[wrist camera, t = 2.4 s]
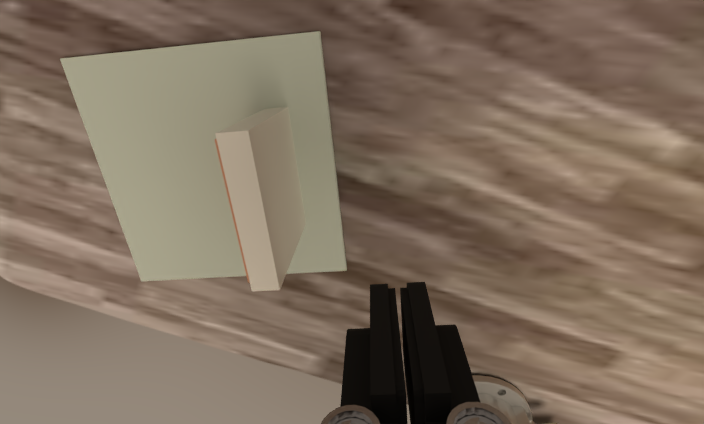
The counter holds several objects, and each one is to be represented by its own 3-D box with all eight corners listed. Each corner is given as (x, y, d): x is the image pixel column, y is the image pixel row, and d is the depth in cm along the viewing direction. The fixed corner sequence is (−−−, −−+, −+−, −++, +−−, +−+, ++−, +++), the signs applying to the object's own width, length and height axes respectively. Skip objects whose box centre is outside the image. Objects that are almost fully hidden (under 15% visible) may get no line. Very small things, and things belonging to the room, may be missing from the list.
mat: (320, 31, 27) (319, 31, 26) (346, 267, 35) (346, 270, 34) (66, 58, 29) (59, 58, 28) (144, 278, 36) (141, 281, 36)
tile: (288, 106, 29) (248, 130, 19) (305, 223, 32) (279, 290, 23) (261, 109, 29) (209, 133, 19) (282, 225, 32) (247, 291, 23)
